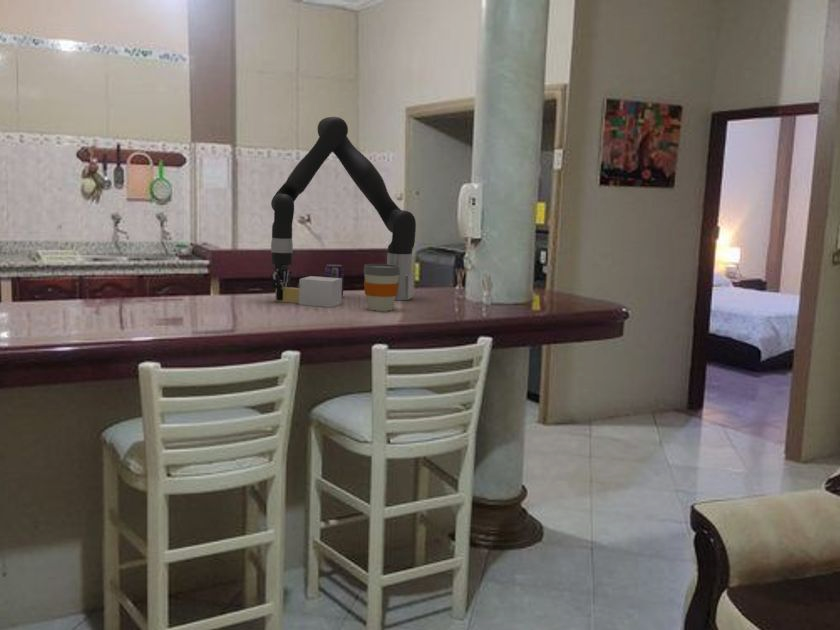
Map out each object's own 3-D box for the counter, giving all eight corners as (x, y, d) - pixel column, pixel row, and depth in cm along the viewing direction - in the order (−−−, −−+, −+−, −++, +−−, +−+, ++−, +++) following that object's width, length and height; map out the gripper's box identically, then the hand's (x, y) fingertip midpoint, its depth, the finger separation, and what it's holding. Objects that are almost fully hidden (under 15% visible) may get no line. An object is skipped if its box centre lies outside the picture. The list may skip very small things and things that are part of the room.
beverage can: (346, 297, 298) (347, 265, 296) (335, 298, 292) (335, 266, 290) (332, 295, 301) (332, 263, 299) (320, 296, 295) (320, 264, 293)
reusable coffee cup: (398, 312, 267) (399, 268, 264) (361, 311, 267) (362, 266, 264) (398, 306, 279) (400, 264, 277) (363, 305, 279) (364, 263, 277)
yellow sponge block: (303, 302, 280) (304, 288, 279) (301, 303, 278) (302, 289, 277) (277, 300, 282) (277, 286, 281) (275, 301, 280) (275, 287, 280)
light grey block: (341, 303, 281) (342, 278, 280) (331, 307, 272) (332, 281, 270) (308, 300, 284) (308, 276, 283) (297, 304, 275) (297, 278, 273)
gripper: (284, 253, 271) (283, 303, 273) (299, 250, 284) (298, 298, 287) (263, 251, 272) (263, 301, 275) (279, 249, 286) (278, 296, 288)
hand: (281, 299), depth 281 cm, fingers closed on yellow sponge block, 1 cm apart
